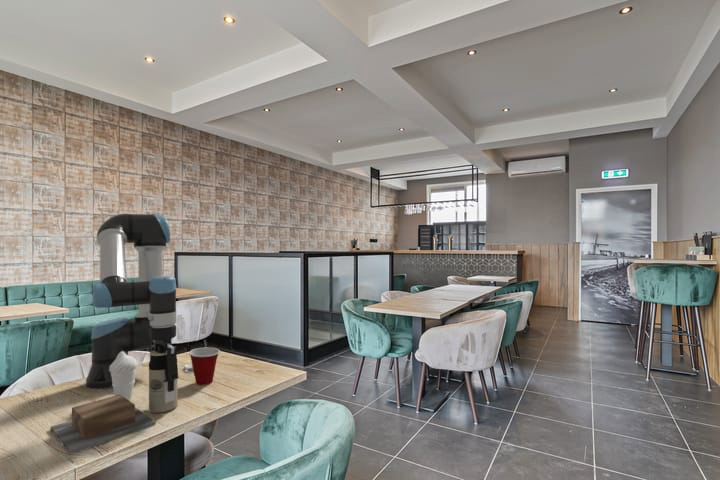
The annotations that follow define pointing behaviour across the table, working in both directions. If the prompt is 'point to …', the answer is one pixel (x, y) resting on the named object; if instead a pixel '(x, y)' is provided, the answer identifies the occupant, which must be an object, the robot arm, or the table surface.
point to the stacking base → (100, 438)
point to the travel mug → (159, 384)
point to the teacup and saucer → (188, 368)
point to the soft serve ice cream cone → (123, 375)
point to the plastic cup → (204, 364)
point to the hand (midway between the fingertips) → (163, 397)
